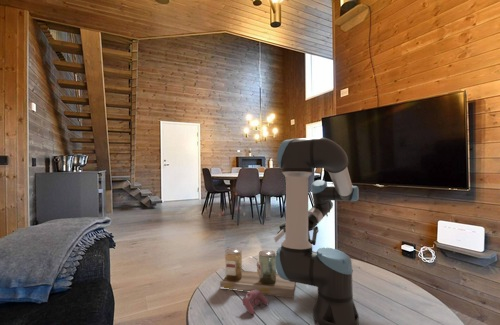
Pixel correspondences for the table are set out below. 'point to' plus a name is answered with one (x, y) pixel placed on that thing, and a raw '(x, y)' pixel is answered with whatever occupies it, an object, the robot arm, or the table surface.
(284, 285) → the wooden tray
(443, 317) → the table surface
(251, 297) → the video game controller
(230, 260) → the mustard tin
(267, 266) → the green tin
